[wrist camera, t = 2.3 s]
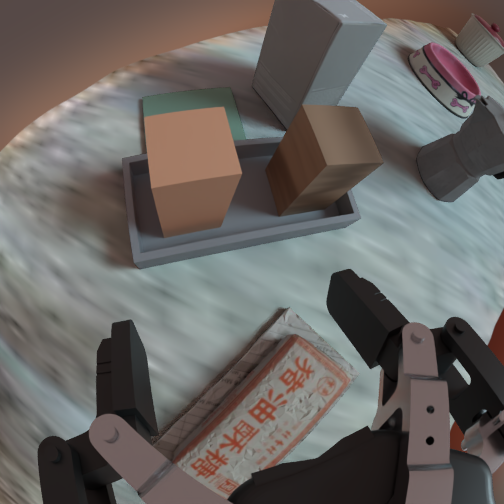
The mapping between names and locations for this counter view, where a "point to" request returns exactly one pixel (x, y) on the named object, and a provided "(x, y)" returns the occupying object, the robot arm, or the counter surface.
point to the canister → (480, 41)
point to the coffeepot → (465, 153)
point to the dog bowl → (445, 78)
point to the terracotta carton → (191, 168)
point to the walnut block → (320, 158)
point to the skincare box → (313, 53)
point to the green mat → (196, 105)
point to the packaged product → (259, 407)
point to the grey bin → (236, 219)
